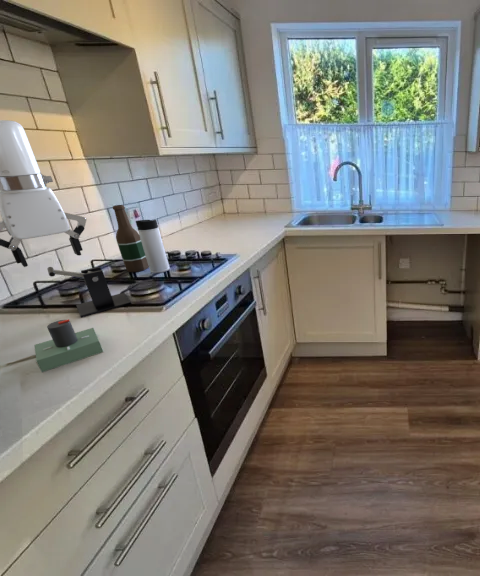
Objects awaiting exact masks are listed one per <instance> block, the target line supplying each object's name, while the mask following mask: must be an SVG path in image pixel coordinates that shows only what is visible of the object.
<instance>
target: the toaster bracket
mask: <svg viewBox="0 0 480 576" xmlns="http://www.w3.org/2000/svg"><path fill="white" fill-rule="evenodd" d="M88 271H93V272H90V273H87V272H88ZM80 273H85V274H83V277H84V278H83V277H82V278H83V281H84V283H85V286H86V288H87V290H88V294H89V296H90V299H91V300H89V301H86V302H82V303H77V304H76V305H75V306H76V308H77V311H78V313H79V316H80V318H81V319H82V318H86V317H89V316H92V315H96V314H97V315H98V314H100V313H103V312H108V311H112V310H114V309H118V308H122V307H125V306H129V305H132V301H131V300H130V298H129V297H128V295H127V294H126V293H125V292H121V293H116V294H113V295H112V293H111V290H110V288H109V285H108V283H107V279H106V277H105V274H104V271H103V270H102V269H101V267H100V266H97V267H96V266H95V267H91V268H86V269H82V270H80Z"/></svg>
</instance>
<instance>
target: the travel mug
mask: <svg viewBox="0 0 480 576" xmlns="http://www.w3.org/2000/svg"><path fill="white" fill-rule="evenodd" d="M135 225H136V227H137V232H138V234H139V235H140V239H141V242H142V245H143V249H144V252H145V255H146V259H147V262H148V265H149V268H148V269H149V272H150V274H162V273H165V272H167V271H170V269H171V266H170V264H169V260H168V257H167V252H166V249H165V246H164V242H163V239H162V235H161V232H160V231H161V230H160V229H159V228H160V227H159V225H158V222H157V219H140V220H139V219H138V220H135Z"/></svg>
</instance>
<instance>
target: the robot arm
mask: <svg viewBox="0 0 480 576" xmlns="http://www.w3.org/2000/svg"><path fill="white" fill-rule="evenodd" d="M53 182H54V180H53V177H52V176H51V175H45V174H43V173H41V170H40V166H39V164H38V162H37V159H36V157H35V153H34V152H33V148H32V146H31V144H30V140H29V138H28V135H27V133H26V131H25V128H24V127H23V125H22V124H20V123H19V122H17V121H15V120H10V119H9V120H8V119H0V217H1V221H0V232H1V231H4V229H6V231H7V234H8V235H9V236H11V237H10V238H9V240H5V239H3V238H0V246H1V247H3V248H6V249H8V250H10V251H11V253H12V255H13V256H12V257H13V258H14V260H15V262H16V264H17V265H18V264H21V266H22V267H23V268H26V267H29V264H28V263H27V260H26V257H25V255H24V253H23V251H22V249H21V248H20V247H19V245H20V244H21V242H22V240H29V239H36V238H41V237H42V238H43V237H48V236H52V235H59V234H63V233H65V234H66V235H68V236H69V238H68V240H69V243H70V246H71V248H72V250H73V254H75V255H76V256H82V252H81V251H83V247H82V244H81V241H80V239H79V238H81V235H82V234H83V232H84V231H85V228H86V223H87V217H85V216H82V215H77V214H73V213H69V212H65V211H64V210H63V207H62V205H61V203H60V202H59V200H58V197H57V196H56V194H55V193H54V191H53V190H52V188H51V187H47V185H48V184H49V183H53ZM69 220H71V221H75V222H77V224H76V226H75V227H74V229H73V230H71V229H70V224H69Z"/></svg>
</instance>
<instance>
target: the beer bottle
mask: <svg viewBox="0 0 480 576" xmlns="http://www.w3.org/2000/svg"><path fill="white" fill-rule="evenodd" d="M112 210H113V211H114V214H115V215H114V216H115V219H116V223H117V231H116V232H115V239H116V244H117V246H118V250H119V253H120V255H121V258H122V262H123V265H124V268H125V269H126V271H127V272H128V273H138V272H142V271H145V270H147V269H150V268H149V265H148V262H147V259H146V255H145V252H144V249H143V245H142V242H141V239H140V235H139V231H138V230H136V229H135V228H134V227H133V226H132V224H131V222H130V219H129V217H128V214H127V211H126V206H125V205H123V204H116V205H112Z"/></svg>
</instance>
